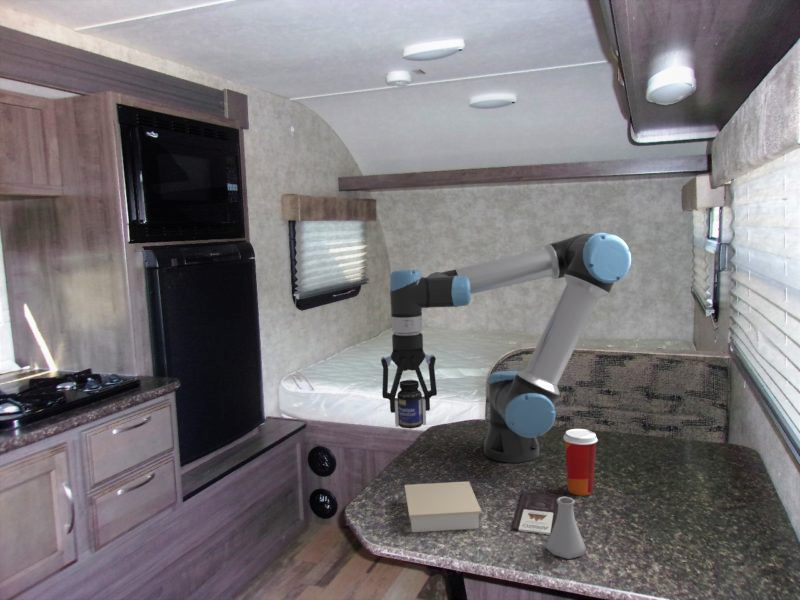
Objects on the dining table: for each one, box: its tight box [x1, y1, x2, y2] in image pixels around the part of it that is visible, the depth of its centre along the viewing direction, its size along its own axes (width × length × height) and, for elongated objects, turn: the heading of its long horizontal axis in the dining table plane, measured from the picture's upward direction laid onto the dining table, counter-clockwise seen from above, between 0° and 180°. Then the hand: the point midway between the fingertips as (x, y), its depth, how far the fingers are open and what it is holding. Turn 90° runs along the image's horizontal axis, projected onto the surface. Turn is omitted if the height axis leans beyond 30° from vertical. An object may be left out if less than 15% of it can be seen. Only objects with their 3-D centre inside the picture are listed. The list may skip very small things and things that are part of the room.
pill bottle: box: [396, 379, 423, 429], centre depth 148 cm, size 6×6×11 cm
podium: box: [404, 481, 482, 533], centre depth 130 cm, size 15×15×4 cm
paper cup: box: [563, 428, 599, 497], centre depth 139 cm, size 8×8×14 cm
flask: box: [545, 495, 587, 560], centre depth 114 cm, size 7×7×10 cm
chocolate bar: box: [511, 491, 563, 536], centre depth 130 cm, size 9×1×18 cm
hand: (410, 423), depth 148 cm, fingers closed on pill bottle, 6 cm apart
